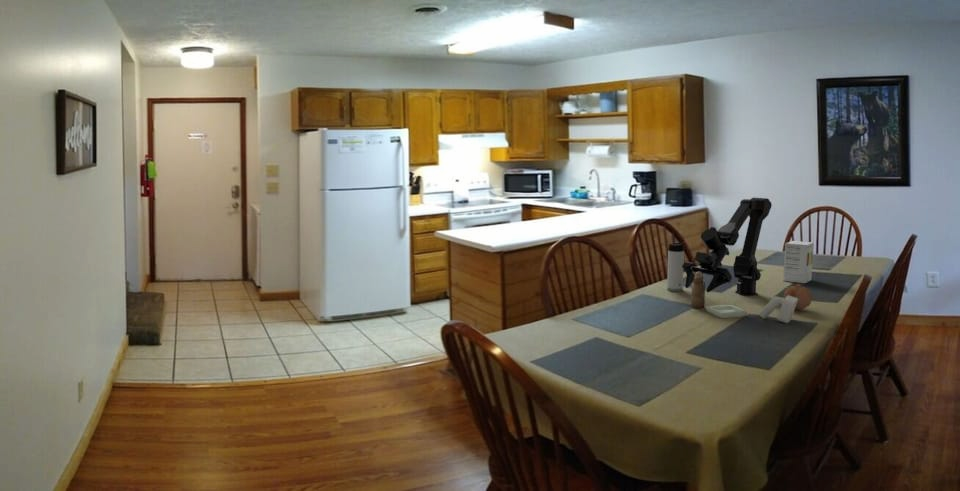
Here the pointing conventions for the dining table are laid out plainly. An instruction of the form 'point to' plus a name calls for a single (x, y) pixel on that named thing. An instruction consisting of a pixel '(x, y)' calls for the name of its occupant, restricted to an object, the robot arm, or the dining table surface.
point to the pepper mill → (698, 292)
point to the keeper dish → (726, 311)
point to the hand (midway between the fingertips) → (696, 289)
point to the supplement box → (798, 261)
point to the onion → (799, 295)
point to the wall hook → (785, 310)
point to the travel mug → (675, 267)
